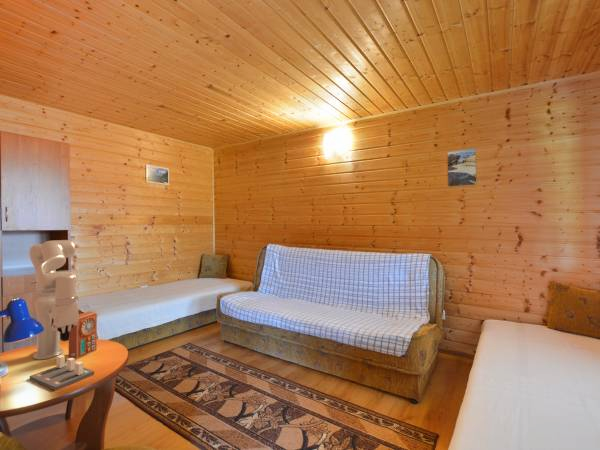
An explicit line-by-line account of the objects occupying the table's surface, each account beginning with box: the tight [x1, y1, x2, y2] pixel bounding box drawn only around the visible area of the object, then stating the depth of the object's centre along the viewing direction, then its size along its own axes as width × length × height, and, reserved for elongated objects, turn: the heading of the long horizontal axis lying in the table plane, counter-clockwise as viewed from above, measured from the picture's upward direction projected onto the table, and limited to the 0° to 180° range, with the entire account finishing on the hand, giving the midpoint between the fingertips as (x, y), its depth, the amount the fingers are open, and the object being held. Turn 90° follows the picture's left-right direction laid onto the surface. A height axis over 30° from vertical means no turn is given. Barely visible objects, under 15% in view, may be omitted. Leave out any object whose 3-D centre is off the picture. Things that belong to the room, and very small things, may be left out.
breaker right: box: [75, 360, 84, 375], centre depth 143 cm, size 3×2×5 cm, turn 64°
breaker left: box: [56, 354, 66, 368], centre depth 150 cm, size 3×2×5 cm, turn 64°
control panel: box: [68, 310, 98, 360], centre depth 169 cm, size 21×7×15 cm
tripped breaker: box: [66, 357, 76, 371], centre depth 147 cm, size 3×2×5 cm, turn 64°
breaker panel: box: [29, 362, 95, 391], centre depth 144 cm, size 21×16×2 cm
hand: (64, 340), depth 145 cm, fingers closed
